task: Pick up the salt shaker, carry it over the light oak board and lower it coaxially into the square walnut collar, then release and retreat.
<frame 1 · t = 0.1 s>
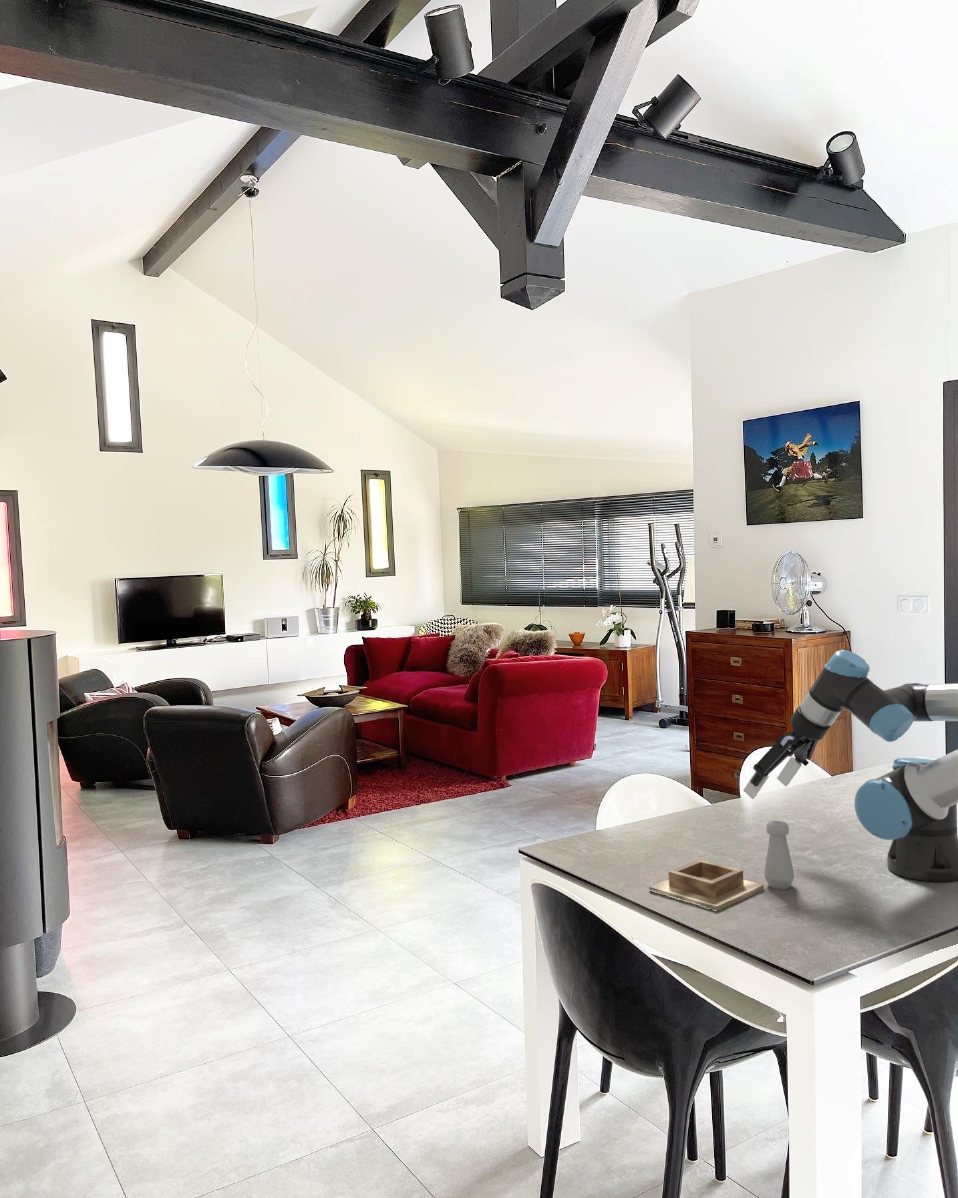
hand: (765, 788, 205), 15 cm above the table, tool tilted 35°, fingers open, 13 cm apart
collar board: (706, 890, 186), on the table
salt shaker: (779, 887, 187), on the table
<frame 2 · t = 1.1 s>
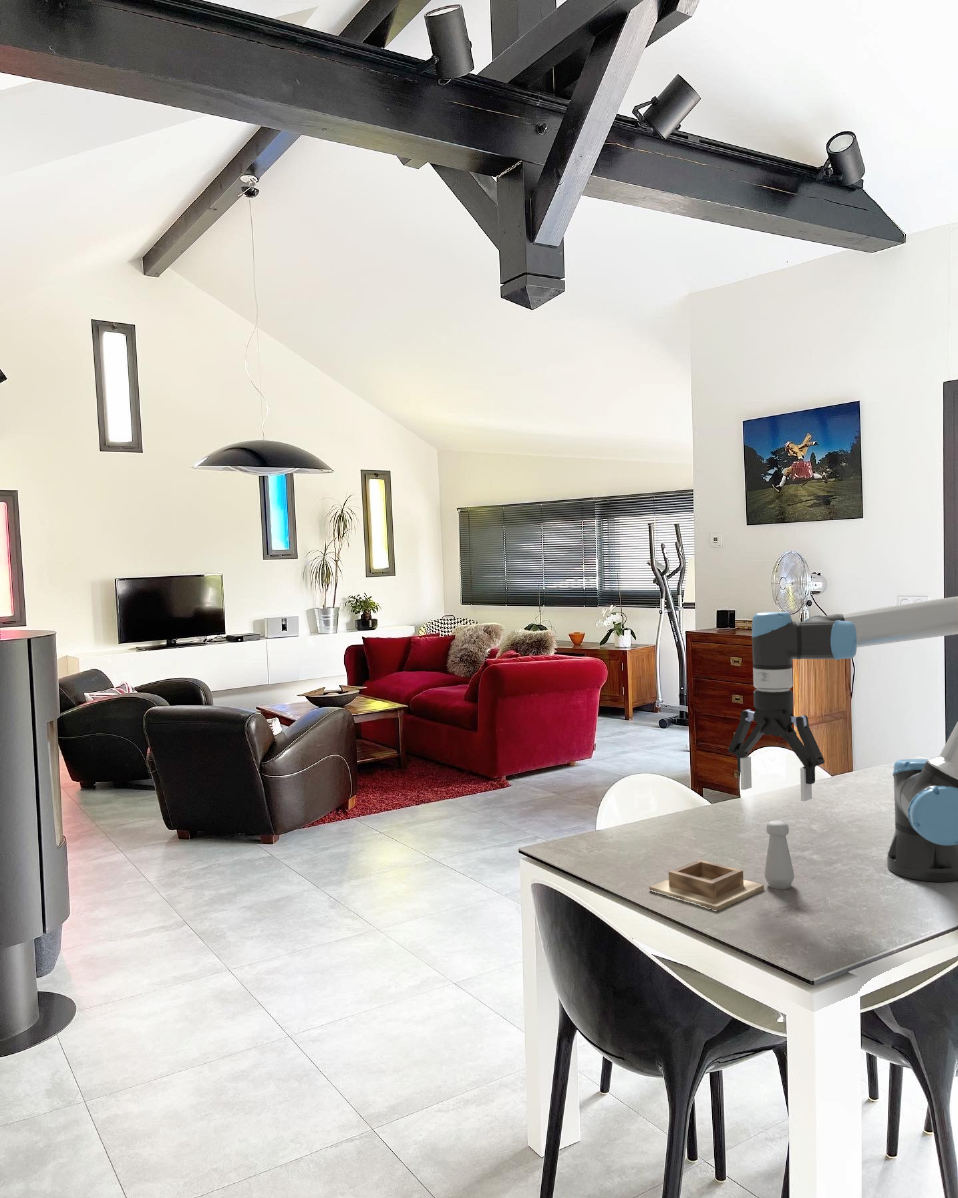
hand: (775, 794, 187), 19 cm above the table, tool pointing down, fingers open, 13 cm apart
nothing on the table moved.
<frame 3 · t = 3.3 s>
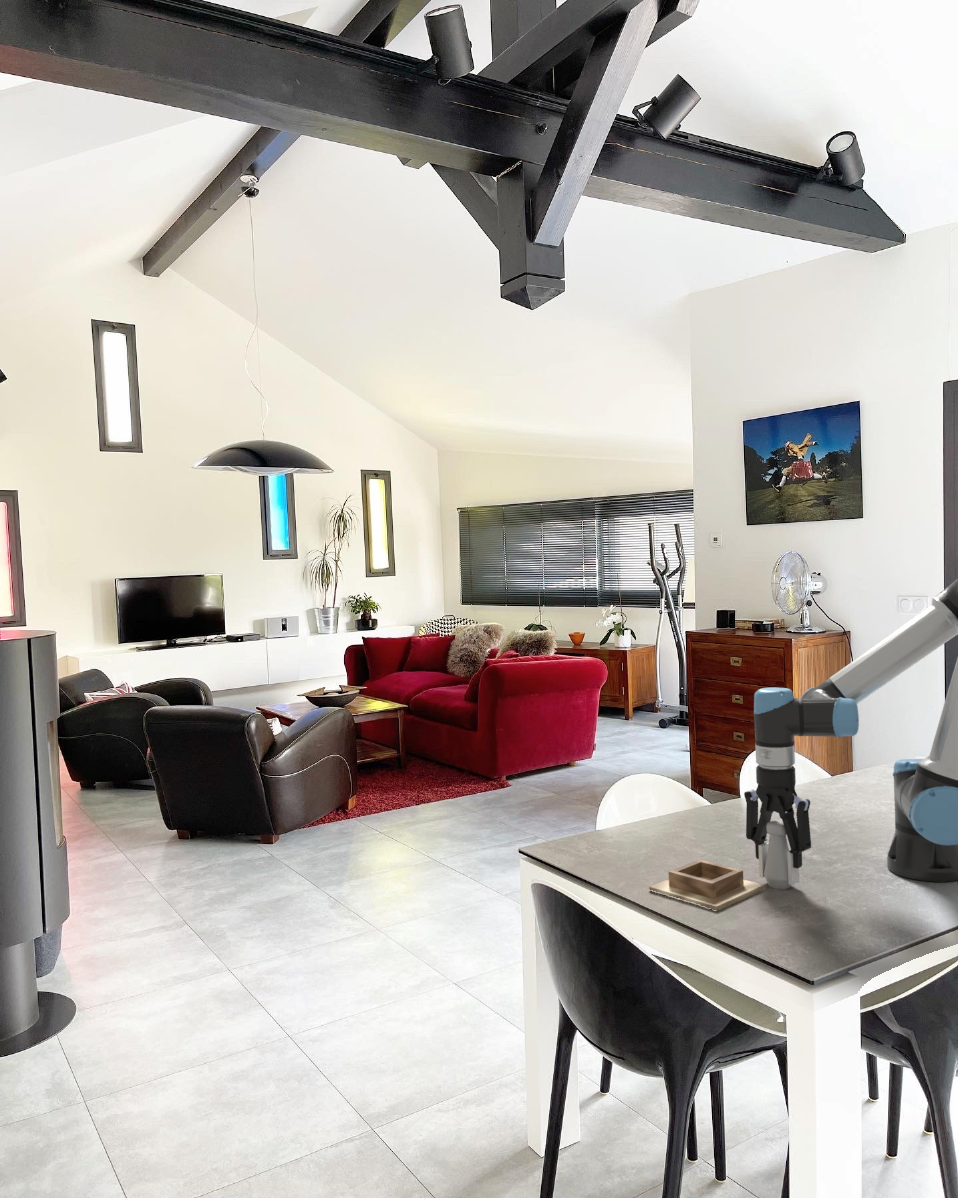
hand: (779, 879, 187), 1 cm above the table, tool pointing down, fingers closed on salt shaker, 6 cm apart
salt shaker: (779, 886, 187), on the table, touching gripper
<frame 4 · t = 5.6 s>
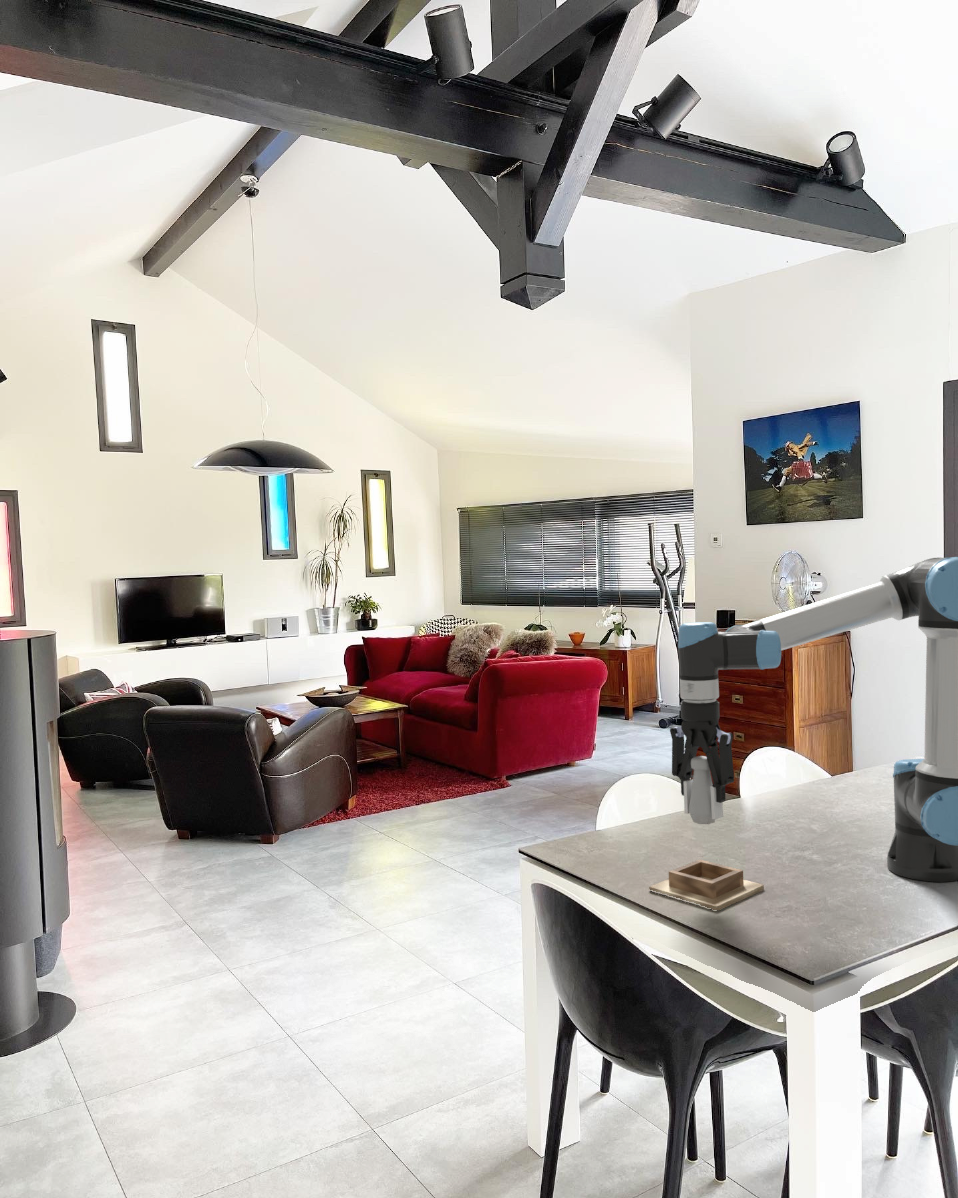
hand: (703, 814, 186), 15 cm above the table, tool pointing down, fingers closed on salt shaker, 6 cm apart
salt shaker: (703, 822, 186), point 14 cm above the table, touching gripper
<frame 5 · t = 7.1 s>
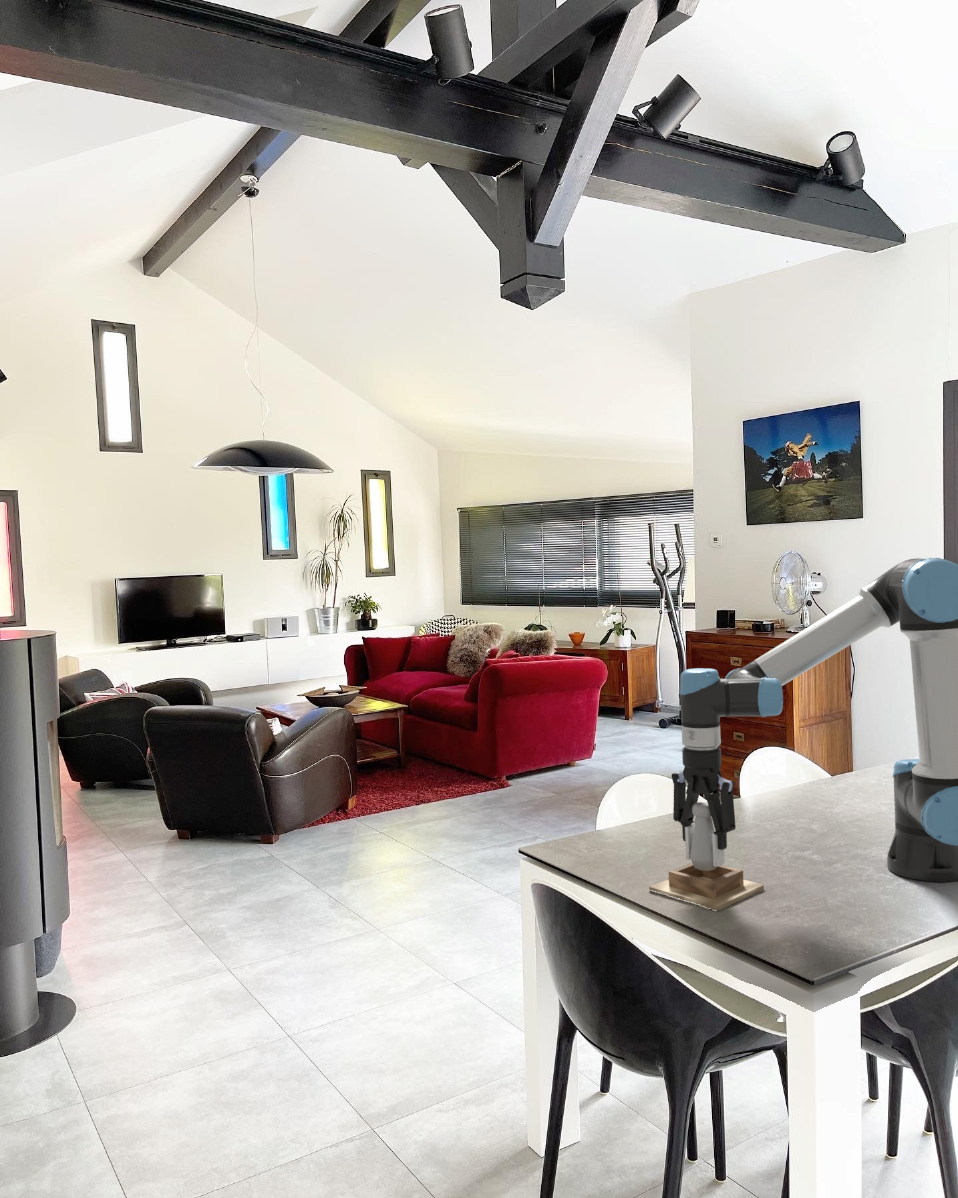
hand: (705, 861, 186), 6 cm above the table, tool pointing down, fingers closed on salt shaker, 6 cm apart
salt shaker: (705, 868, 186), point 4 cm above the table, touching gripper
when the fingers open (5 cm above the table, at t = 8.1 s): salt shaker drops 2 cm, resting on collar board.
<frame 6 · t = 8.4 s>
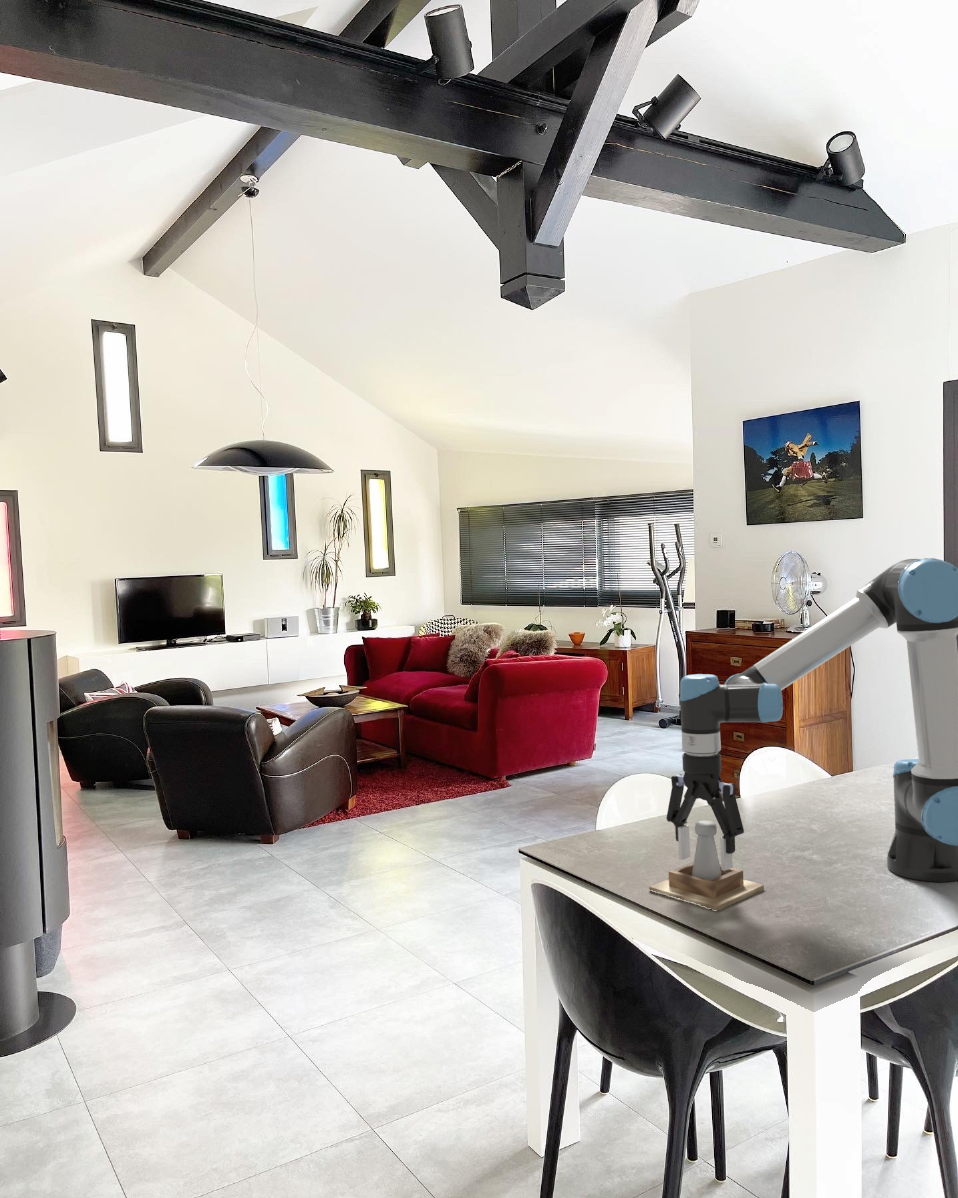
hand: (705, 863, 186), 6 cm above the table, tool pointing down, fingers open, 9 cm apart
salt shaker: (707, 886, 186), point 1 cm above the table, touching collar board
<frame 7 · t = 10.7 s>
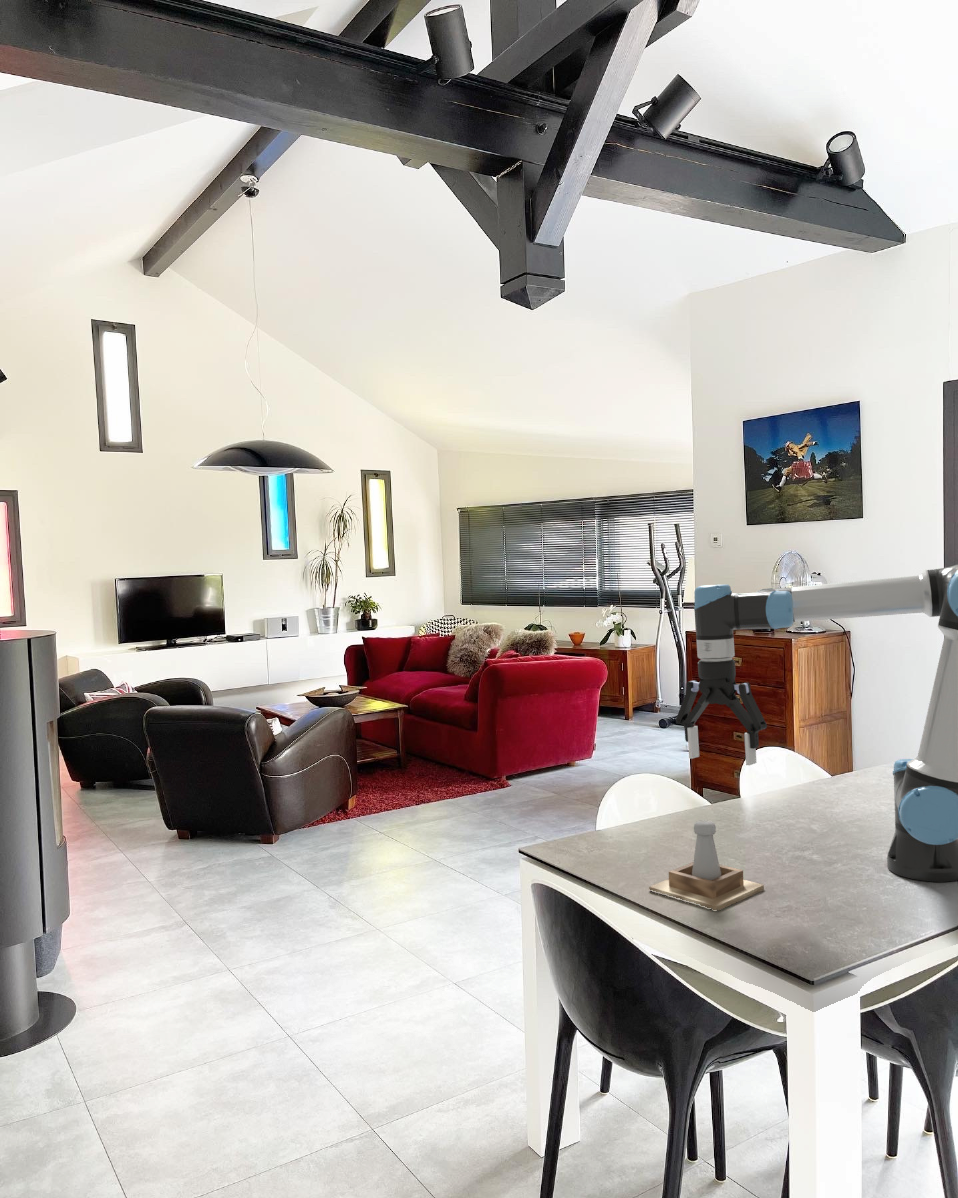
hand: (722, 760, 193), 24 cm above the table, tool pointing down, fingers open, 13 cm apart
nothing on the table moved.
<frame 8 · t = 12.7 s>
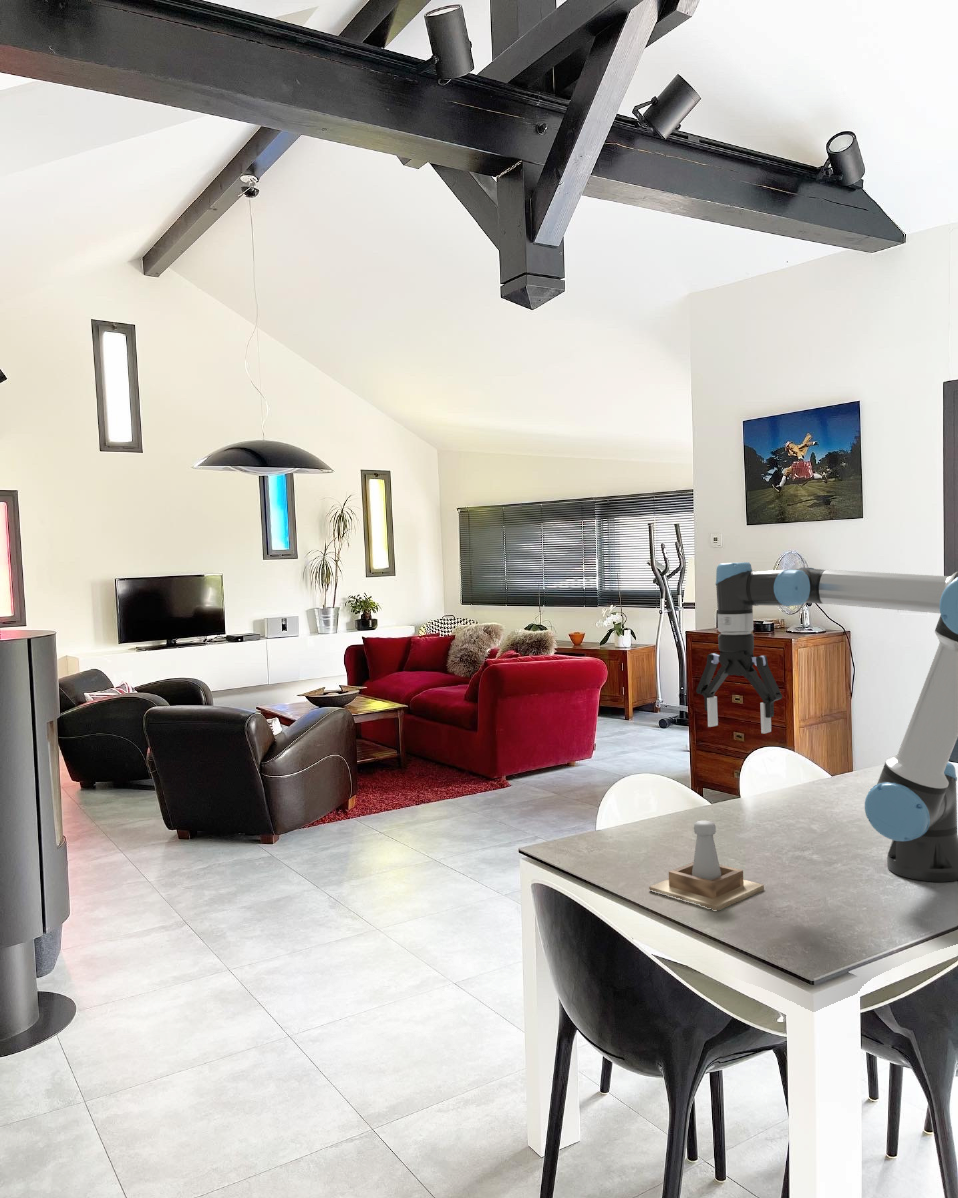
hand: (739, 729, 204), 29 cm above the table, tool pointing down, fingers open, 13 cm apart
nothing on the table moved.
at the end: salt shaker 0.2 cm off-centre on the collar board, point 0.8 cm above the collar board's base; salt shaker tilted 0°; the gripper is holding nothing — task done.
